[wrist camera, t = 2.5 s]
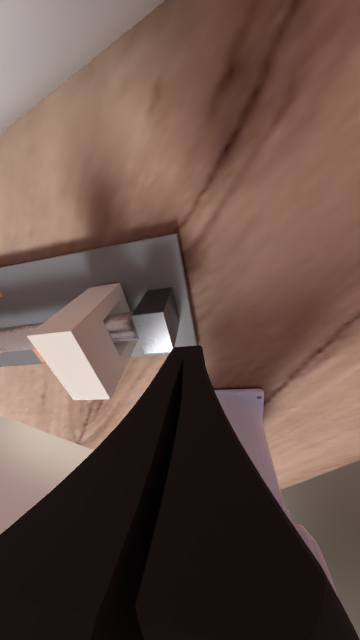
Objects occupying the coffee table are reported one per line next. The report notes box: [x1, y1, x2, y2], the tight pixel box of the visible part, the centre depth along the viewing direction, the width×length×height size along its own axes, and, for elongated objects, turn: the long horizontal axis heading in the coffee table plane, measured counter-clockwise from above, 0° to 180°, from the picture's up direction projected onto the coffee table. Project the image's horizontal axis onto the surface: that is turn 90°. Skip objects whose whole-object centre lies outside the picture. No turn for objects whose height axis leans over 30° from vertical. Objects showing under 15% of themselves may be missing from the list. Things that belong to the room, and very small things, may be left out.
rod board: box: [0, 232, 198, 367], centre depth 16 cm, size 10×24×5 cm, turn 101°
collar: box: [27, 283, 138, 400], centre depth 13 cm, size 5×2×6 cm, turn 11°
